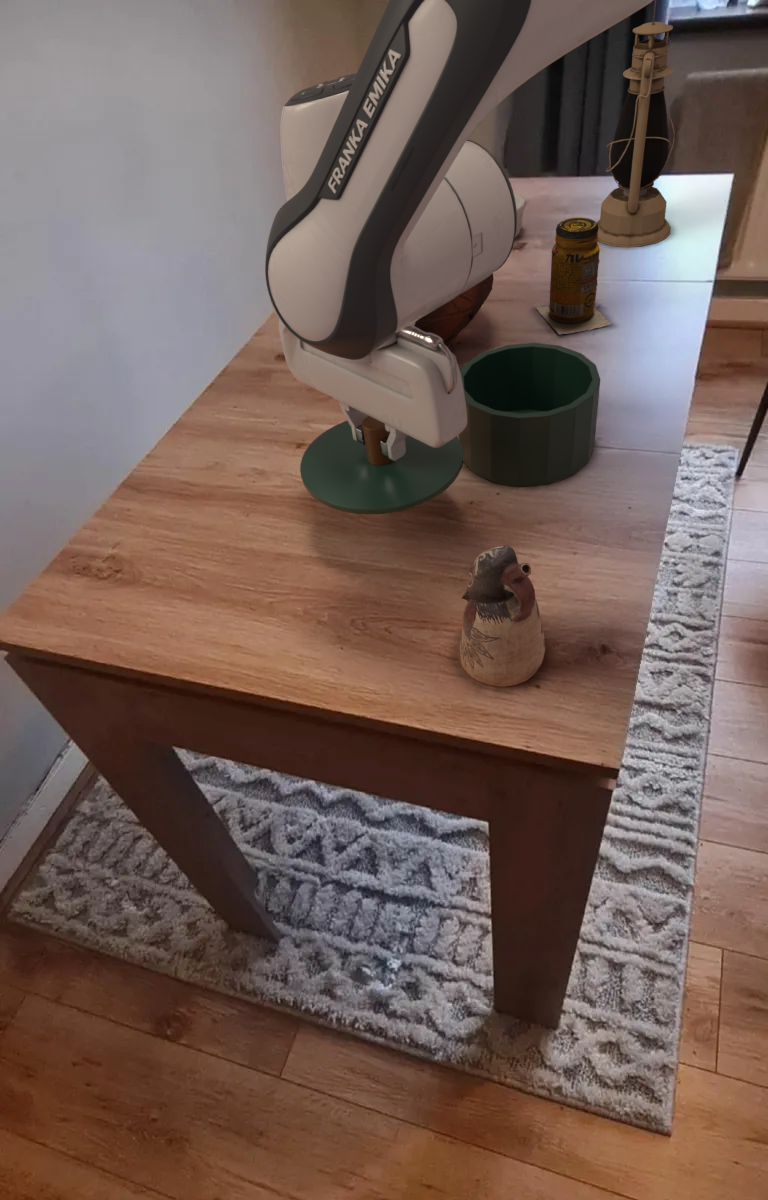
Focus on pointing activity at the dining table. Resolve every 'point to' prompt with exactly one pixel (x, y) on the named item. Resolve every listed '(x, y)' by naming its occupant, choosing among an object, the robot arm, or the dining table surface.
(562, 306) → the condiment
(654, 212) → the lantern
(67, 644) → the dining table surface
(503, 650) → the figurine
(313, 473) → the lid
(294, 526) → the dining table surface
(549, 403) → the pot
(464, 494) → the dining table surface
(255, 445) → the dining table surface
